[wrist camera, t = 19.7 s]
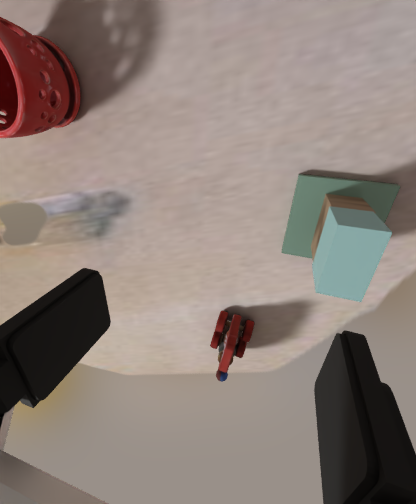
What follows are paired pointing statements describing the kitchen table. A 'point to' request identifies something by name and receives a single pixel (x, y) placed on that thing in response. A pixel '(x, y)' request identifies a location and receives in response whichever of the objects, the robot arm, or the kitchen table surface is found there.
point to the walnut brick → (335, 202)
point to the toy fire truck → (230, 341)
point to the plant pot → (34, 83)
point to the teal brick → (349, 252)
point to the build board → (311, 201)
